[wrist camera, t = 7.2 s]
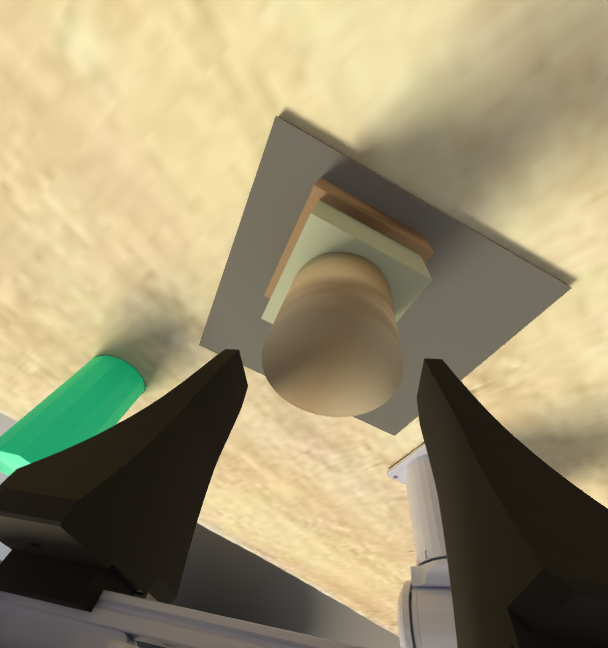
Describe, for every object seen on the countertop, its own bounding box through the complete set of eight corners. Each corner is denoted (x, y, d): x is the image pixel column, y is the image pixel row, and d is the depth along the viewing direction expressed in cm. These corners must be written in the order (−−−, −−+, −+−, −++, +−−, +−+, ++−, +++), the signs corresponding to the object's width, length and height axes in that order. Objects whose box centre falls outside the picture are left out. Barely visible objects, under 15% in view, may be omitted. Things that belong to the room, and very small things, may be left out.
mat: (566, 284, 18) (571, 287, 18) (394, 431, 28) (394, 435, 28) (278, 116, 16) (275, 116, 15) (201, 341, 26) (199, 345, 25)
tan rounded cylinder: (412, 283, 13) (436, 353, 9) (356, 353, 16) (354, 433, 12) (317, 231, 12) (295, 281, 8) (275, 314, 15) (243, 383, 11)
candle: (110, 346, 28) (-25, 463, 18) (156, 387, 31) (58, 510, 21) (79, 366, 31) (-55, 478, 21) (123, 403, 33) (22, 518, 23)
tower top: (420, 255, 15) (432, 279, 13) (359, 335, 19) (359, 366, 16) (319, 199, 15) (310, 213, 12) (274, 292, 18) (260, 318, 15)
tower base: (424, 235, 17) (434, 252, 15) (361, 319, 21) (361, 344, 19) (321, 177, 17) (314, 184, 14) (275, 275, 21) (264, 295, 18)
